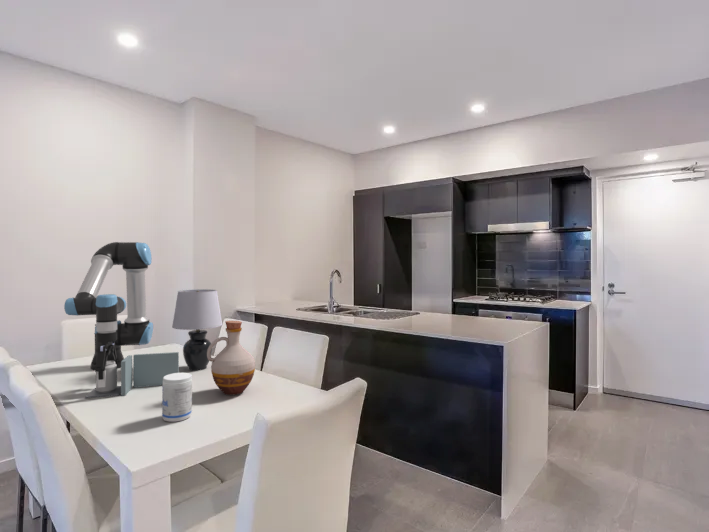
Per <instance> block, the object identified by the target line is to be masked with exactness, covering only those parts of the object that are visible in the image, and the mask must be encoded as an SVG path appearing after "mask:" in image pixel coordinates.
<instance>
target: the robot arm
mask: <svg viewBox="0 0 709 532" xmlns="http://www.w3.org/2000/svg"><path fill="white" fill-rule="evenodd" d="M90 263H91V264H90V267H89V269H88V271H87V273H86V275H85V277H84V278H83V281H82V283H81V284H80V287H79V288H78V289H79V290H78V291H77V293H76V295H75V297H69V298H67V299H65V302H64V305H63V307H64V312H65V314H66V315H68V316H90V315H91V316H95V315H96V316H95V318H96V320H95V322H96V323H95V324H94V326H95V327H94V333H93V334H94V353H93V357H92V359H91V363H90V369H91V370H94V372H95V373H96V372H98V388H99V387H106V370H105V366H106V362H107V361H115V364H116V365H117V369H118V368H121V361H122V360H124V359H125V357H124V355H123V352H122V346H143V345H144V346H145V345H148V344H149V343H150V342H151V340H152V337H153V334H154V333H153V331H154V324H153V322H152V321H150V317H148V316H147V305H146V304H147V303H146V301H147V300H146V271H147V270H148V268H149V266H150V265H151V264H152V251H151V248H150V247H149V244H148V243H145V242H137V241H135V242H131V241H129V242H127V241H126V242H124V241H121V242H119V241H115V242H114V241H113V242H110V243H106V244H105V245H103V246H101V247H100V248H98V250H96V251H95V252H94V254H93V256H92V258H91V259H90ZM113 266H122V270H123V271H125V278H126V280H125V281H126V300H125V298H123V297H121V296H117V294H114V293H113V294H112V293H110V294H109V293H108V294H105V293H104V294H99V292H100V290H101V287H102V285H103V283H104V280H105V279H106V276H107V275H108V272H109V270H111V269H112V268H113ZM126 309H127V311H126V313H127V314H126V315H127V317H126V318H125V319H124V321H123V323H122V320H118V315H119V314H121V313H122V312H123V311H125V310H126Z"/></svg>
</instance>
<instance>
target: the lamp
mask: <svg viewBox="0 0 709 532" xmlns="http://www.w3.org/2000/svg"><path fill="white" fill-rule="evenodd" d="M221 313H222V312H221V307H220V302H219V294H218V290H217V289H208V288H206V289H198V288H197V289H195V288H194V289H182V290H177V296H176V302H175V308H174V315H173V318H172V319H173V321H172V329H174V330H180V331H181V330H182V331H184V330H186V331H188V332H187V333H188V334H187V335H188V336H189V339H188V340H186V342H185V343H184V344H183V346H182V356H183V358H184V361H185V364H186V366H187V368H188V370H190V371H194V372H195V371H203V370H205V369H208V365H209V364H210V363H209V362H210V361H209V360H208V358H207V350H208V348H209V346H210V344H211V343H212V342H211V341H210V340H209V339H208V338H206V337H207V334H208V331H207V330H208V329H209V330H210V329H215V328H220V327H222V326H223V322H222V321H223V320H222V314H221ZM212 354H213V348H212V349H211V354H210V355H211V356H212Z"/></svg>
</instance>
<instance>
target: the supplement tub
mask: <svg viewBox="0 0 709 532" xmlns="http://www.w3.org/2000/svg"><path fill="white" fill-rule="evenodd" d="M192 376H193V375H192V373H189V372H179V373H173V374H168V375H166V376H164V377H163V385H161V386H162V387H161V388H162V396H161V397H162V398H161V399H162V401H161V402H162V404H161V405H162V409H161V412H162V413H161V416H162V420H163V421H165V422H170V423H175V422H181V421H184V420H187V419H188V418H190V417H191V415H192V413H193V412H192V411H193V410H192V406H193V404H192V403H193V377H192Z"/></svg>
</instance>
